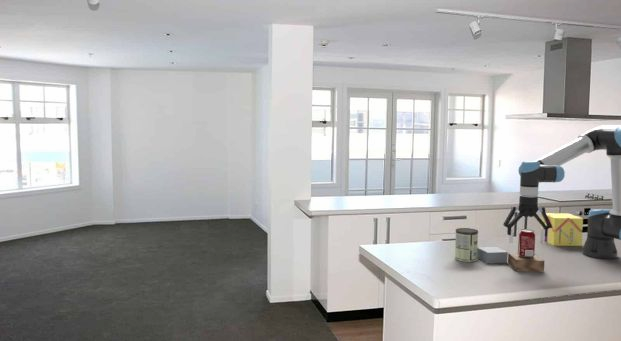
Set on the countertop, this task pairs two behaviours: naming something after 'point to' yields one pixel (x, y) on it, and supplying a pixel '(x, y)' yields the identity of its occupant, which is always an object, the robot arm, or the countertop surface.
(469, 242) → the coffee can
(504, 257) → the slate-grey block
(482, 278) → the countertop surface
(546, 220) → the robot arm
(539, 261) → the walnut block
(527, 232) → the soda can
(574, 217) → the toy block
